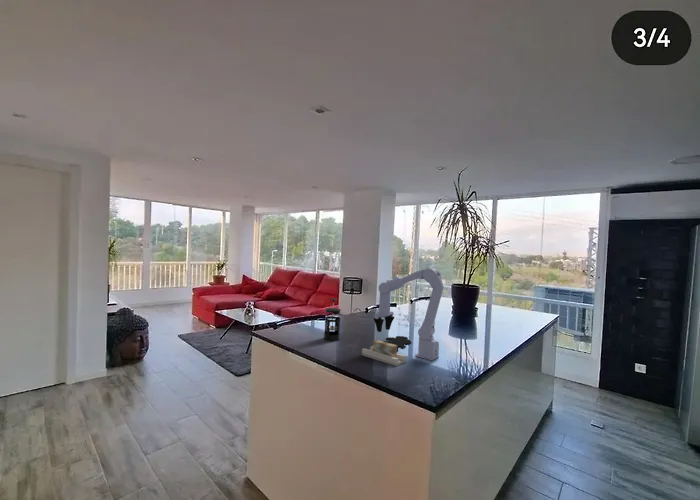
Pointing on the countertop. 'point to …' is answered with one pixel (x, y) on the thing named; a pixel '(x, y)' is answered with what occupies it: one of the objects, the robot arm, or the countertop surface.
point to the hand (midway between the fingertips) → (383, 330)
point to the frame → (385, 348)
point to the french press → (332, 334)
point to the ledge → (384, 357)
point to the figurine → (399, 341)
